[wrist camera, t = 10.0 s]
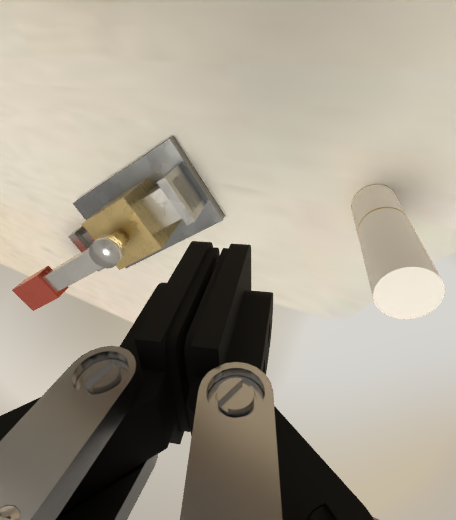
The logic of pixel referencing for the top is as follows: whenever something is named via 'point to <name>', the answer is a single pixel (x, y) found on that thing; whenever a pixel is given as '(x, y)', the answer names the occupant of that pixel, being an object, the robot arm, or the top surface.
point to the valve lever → (69, 272)
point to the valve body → (148, 205)
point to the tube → (394, 256)
